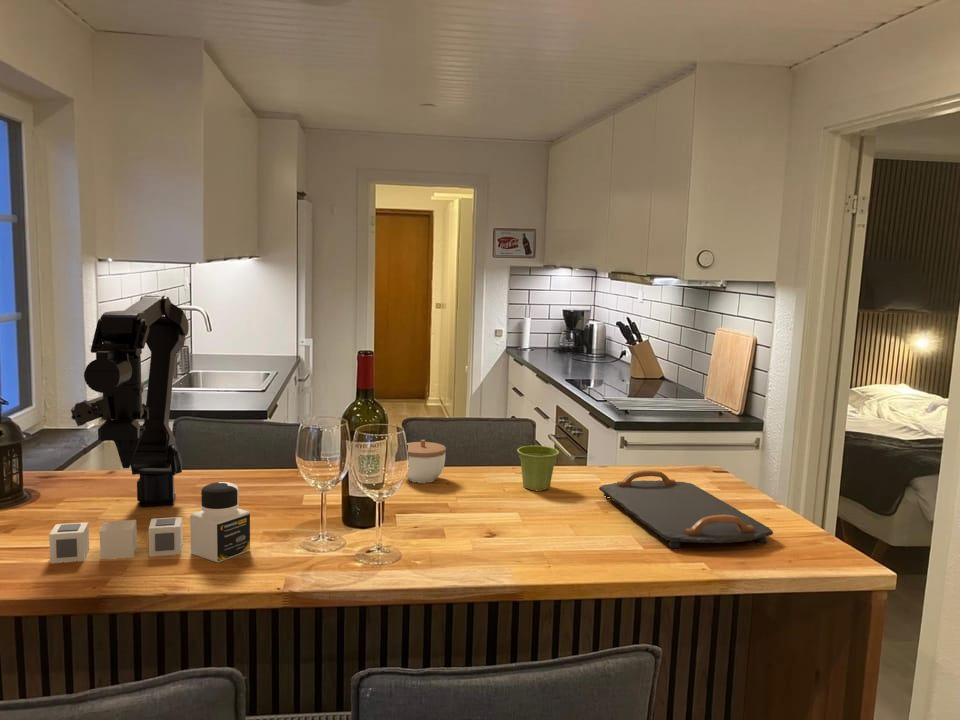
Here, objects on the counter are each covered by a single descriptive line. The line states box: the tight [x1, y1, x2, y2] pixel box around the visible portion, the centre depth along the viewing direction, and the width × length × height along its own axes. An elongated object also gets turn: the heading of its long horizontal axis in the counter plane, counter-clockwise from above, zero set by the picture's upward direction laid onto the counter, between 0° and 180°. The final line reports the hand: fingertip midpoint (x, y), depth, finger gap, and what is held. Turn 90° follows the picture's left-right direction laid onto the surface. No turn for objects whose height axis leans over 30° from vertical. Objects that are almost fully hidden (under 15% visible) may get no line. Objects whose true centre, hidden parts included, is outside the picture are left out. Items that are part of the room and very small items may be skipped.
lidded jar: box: [406, 439, 447, 484], centre depth 185 cm, size 11×11×9 cm
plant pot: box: [516, 445, 560, 491], centre depth 182 cm, size 9×9×9 cm
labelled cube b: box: [48, 521, 90, 564], centre depth 133 cm, size 5×5×5 cm
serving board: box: [598, 469, 774, 550], centre depth 164 cm, size 39×23×6 cm, turn 14°
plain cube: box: [99, 519, 138, 561], centre depth 136 cm, size 5×5×5 cm
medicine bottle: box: [189, 481, 251, 563], centre depth 137 cm, size 7×7×12 cm
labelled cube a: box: [148, 516, 184, 557], centre depth 138 cm, size 5×5×5 cm
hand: (126, 467), depth 145 cm, fingers closed
